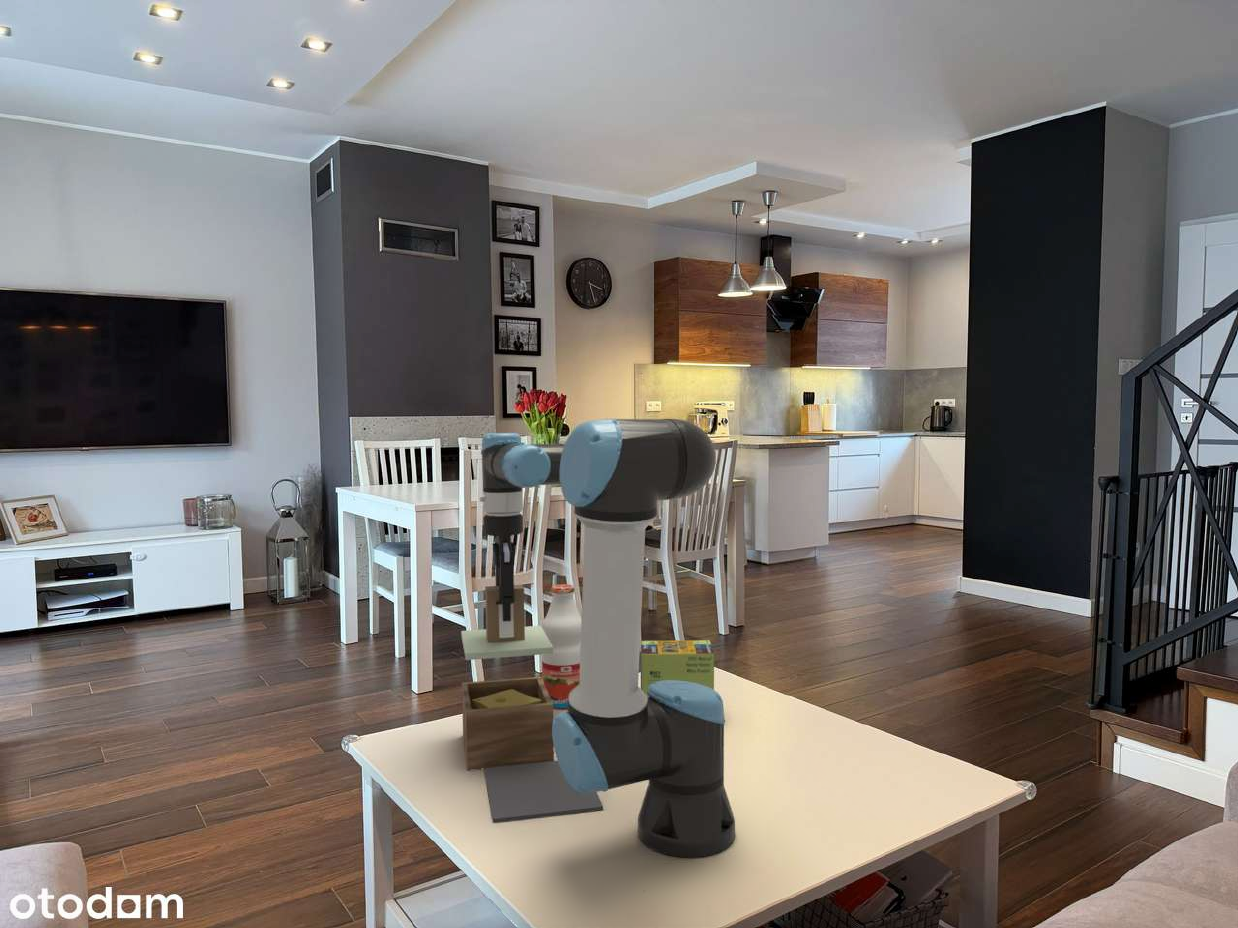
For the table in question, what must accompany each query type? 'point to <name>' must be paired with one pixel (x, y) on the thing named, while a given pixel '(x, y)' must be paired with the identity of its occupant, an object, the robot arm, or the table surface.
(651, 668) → the protein box
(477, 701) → the cheese
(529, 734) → the box
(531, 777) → the mat
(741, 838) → the table surface
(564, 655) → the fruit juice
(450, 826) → the table surface
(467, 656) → the lid
